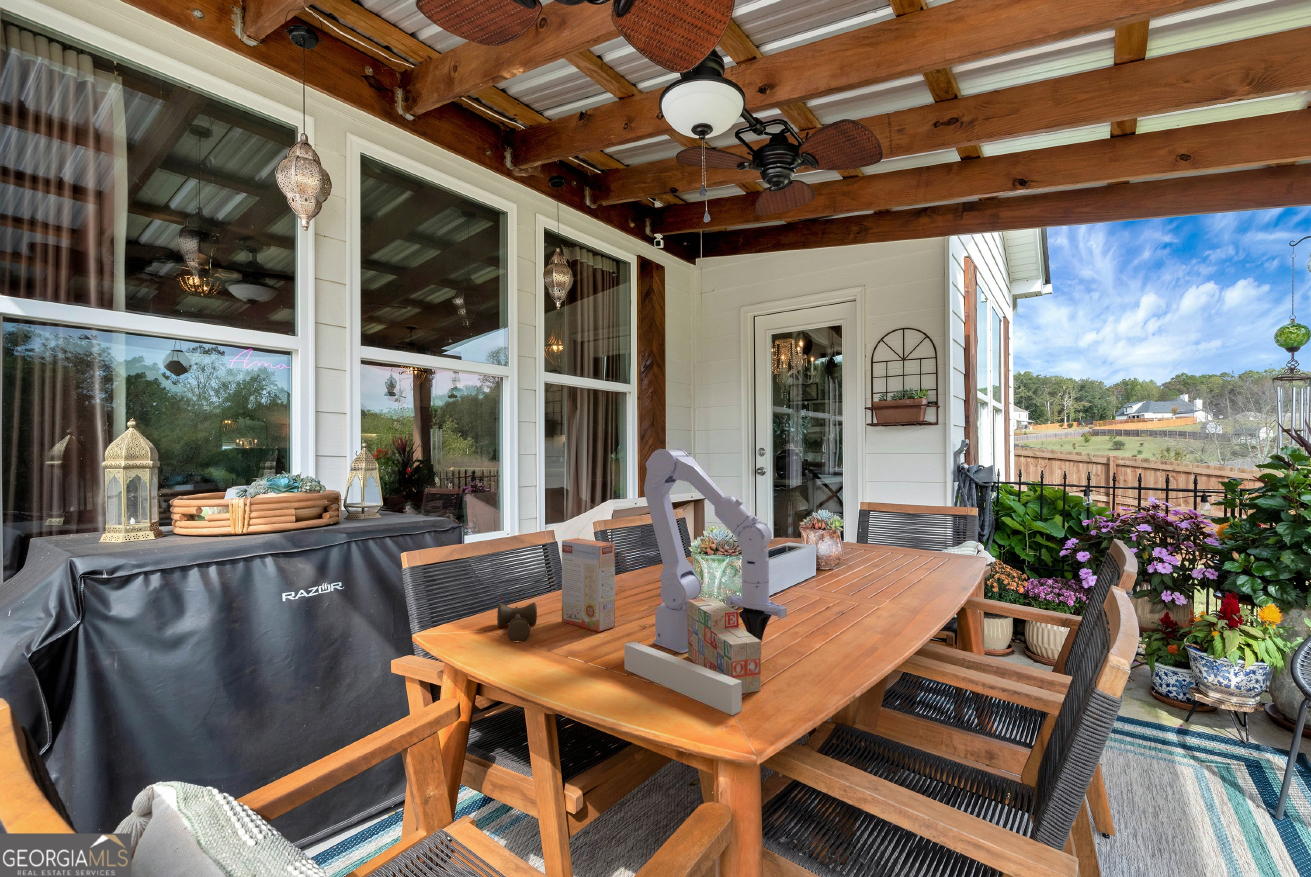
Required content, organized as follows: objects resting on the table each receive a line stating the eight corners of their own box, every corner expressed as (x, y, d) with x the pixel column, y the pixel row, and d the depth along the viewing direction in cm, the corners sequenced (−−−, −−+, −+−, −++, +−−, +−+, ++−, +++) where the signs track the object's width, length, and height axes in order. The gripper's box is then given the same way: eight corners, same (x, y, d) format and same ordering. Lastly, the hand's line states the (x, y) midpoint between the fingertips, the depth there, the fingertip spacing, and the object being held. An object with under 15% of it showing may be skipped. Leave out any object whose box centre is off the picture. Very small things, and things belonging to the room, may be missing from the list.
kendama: (496, 647, 134) (496, 619, 154) (540, 644, 137) (534, 617, 156) (497, 620, 134) (497, 596, 154) (540, 618, 137) (535, 594, 156)
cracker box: (616, 627, 147) (616, 542, 147) (598, 633, 142) (598, 545, 142) (578, 616, 156) (578, 536, 156) (560, 621, 151) (560, 539, 152)
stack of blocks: (761, 691, 108) (761, 624, 109) (730, 696, 107) (730, 627, 107) (713, 653, 129) (713, 596, 129) (686, 656, 127) (686, 598, 127)
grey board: (624, 668, 119) (624, 643, 119) (633, 665, 121) (633, 641, 121) (732, 715, 99) (731, 685, 99) (741, 710, 100) (741, 681, 100)
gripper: (795, 583, 123) (795, 649, 123) (740, 572, 134) (740, 633, 134) (774, 588, 118) (775, 657, 118) (719, 577, 129) (720, 640, 129)
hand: (755, 645), depth 125 cm, fingers closed
